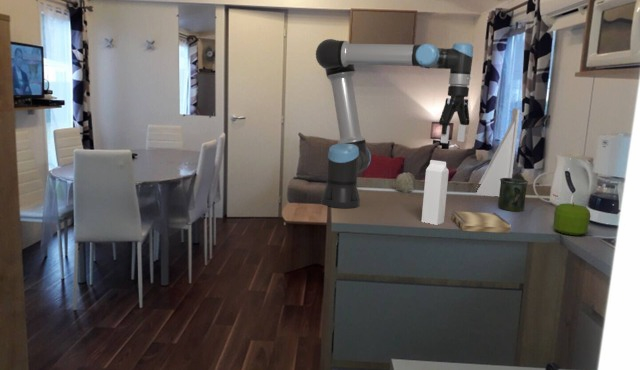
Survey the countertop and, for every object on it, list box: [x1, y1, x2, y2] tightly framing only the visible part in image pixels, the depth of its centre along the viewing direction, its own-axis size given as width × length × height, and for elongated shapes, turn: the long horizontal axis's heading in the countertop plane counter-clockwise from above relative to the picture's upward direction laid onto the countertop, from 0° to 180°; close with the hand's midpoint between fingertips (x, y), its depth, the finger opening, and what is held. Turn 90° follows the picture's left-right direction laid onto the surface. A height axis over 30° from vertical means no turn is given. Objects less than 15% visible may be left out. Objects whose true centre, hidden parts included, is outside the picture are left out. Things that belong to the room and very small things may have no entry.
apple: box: [553, 202, 591, 236], centre depth 181 cm, size 11×11×11 cm
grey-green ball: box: [393, 172, 416, 193], centre depth 242 cm, size 9×8×10 cm
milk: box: [421, 159, 450, 226], centre depth 186 cm, size 6×6×22 cm
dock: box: [450, 210, 512, 234], centre depth 185 cm, size 16×16×3 cm
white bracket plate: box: [475, 108, 521, 198], centre depth 244 cm, size 20×14×40 cm
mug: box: [497, 177, 529, 212], centre depth 214 cm, size 11×15×12 cm
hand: (452, 142), depth 202 cm, fingers open, 13 cm apart
